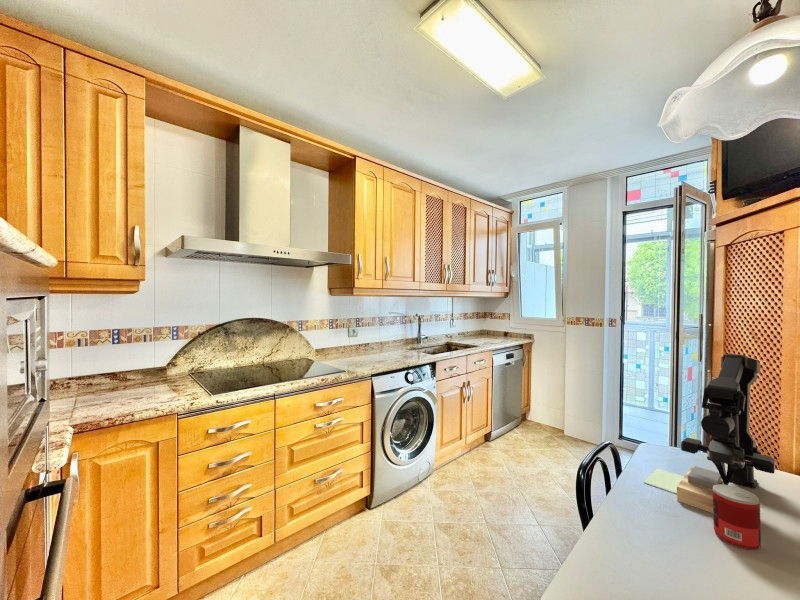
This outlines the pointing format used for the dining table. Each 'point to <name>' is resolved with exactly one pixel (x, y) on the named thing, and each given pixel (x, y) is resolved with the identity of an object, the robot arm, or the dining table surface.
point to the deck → (695, 494)
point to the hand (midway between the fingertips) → (726, 484)
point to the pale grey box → (704, 477)
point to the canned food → (737, 516)
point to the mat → (664, 480)
